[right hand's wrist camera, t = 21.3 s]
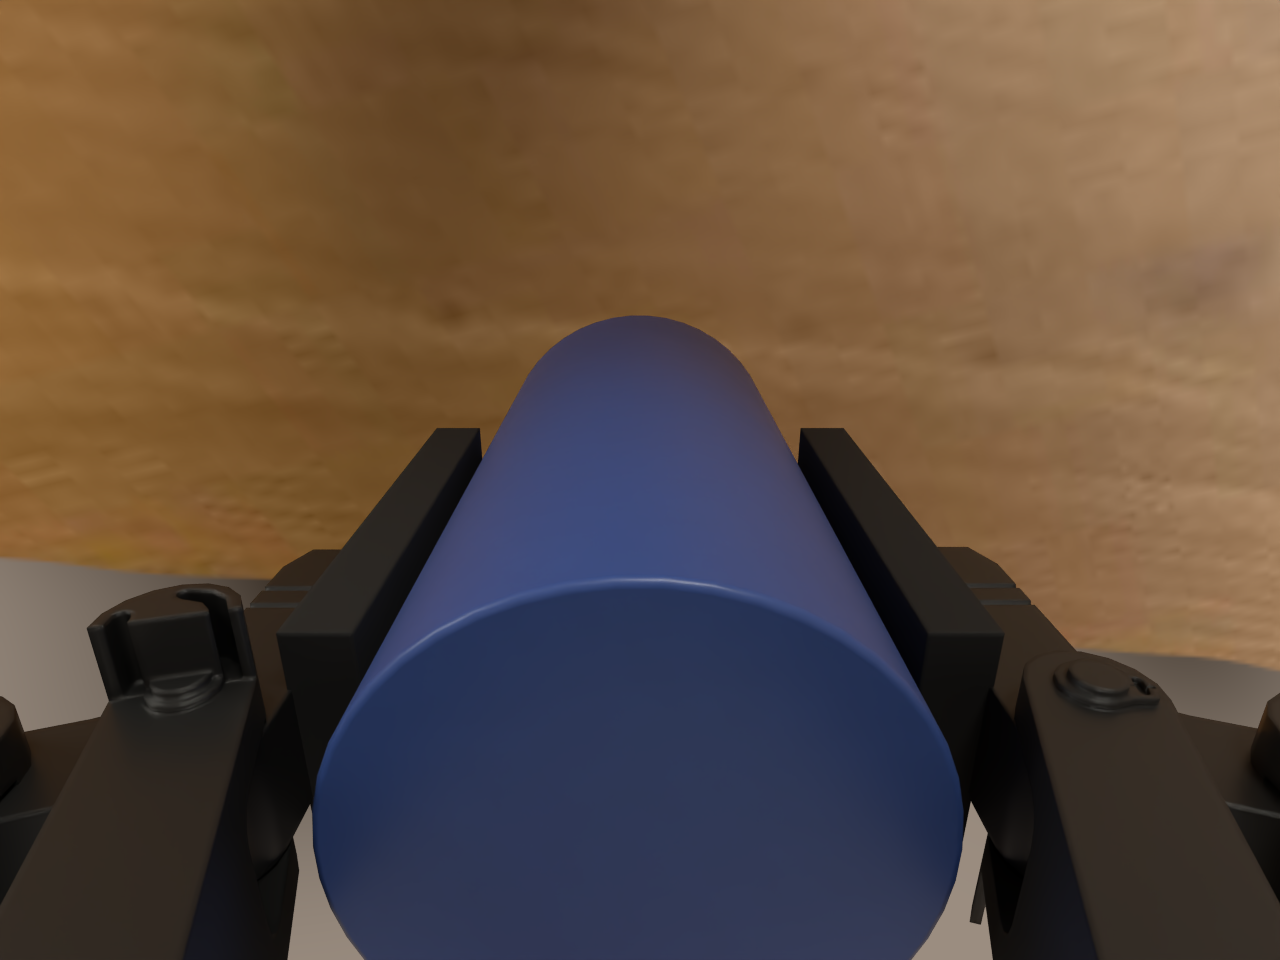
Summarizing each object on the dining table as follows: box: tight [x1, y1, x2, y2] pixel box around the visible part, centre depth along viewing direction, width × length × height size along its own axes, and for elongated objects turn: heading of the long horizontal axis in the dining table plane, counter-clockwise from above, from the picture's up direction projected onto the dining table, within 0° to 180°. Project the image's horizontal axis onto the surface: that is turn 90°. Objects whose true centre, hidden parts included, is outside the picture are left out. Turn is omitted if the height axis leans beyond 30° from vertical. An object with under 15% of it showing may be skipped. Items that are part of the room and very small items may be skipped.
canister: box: [312, 316, 964, 960], centre depth 12 cm, size 6×6×11 cm
